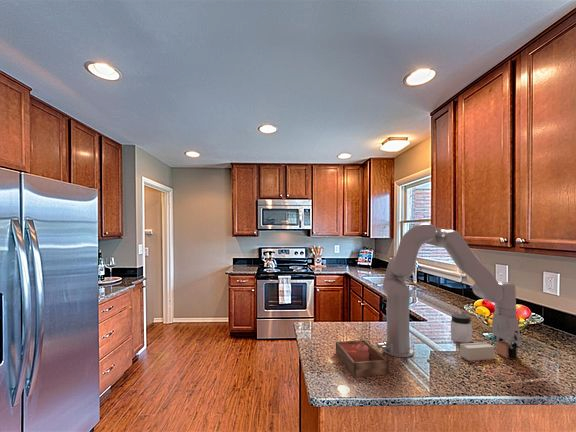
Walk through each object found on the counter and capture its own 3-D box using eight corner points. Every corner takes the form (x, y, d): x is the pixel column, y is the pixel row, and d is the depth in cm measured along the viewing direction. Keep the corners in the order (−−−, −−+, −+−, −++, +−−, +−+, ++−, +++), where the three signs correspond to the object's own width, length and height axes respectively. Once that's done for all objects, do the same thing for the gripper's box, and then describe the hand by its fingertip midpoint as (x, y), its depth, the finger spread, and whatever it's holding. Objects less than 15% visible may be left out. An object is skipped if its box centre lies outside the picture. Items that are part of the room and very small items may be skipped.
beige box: (468, 360, 128) (468, 348, 128) (460, 355, 133) (459, 343, 133) (494, 358, 130) (494, 346, 130) (485, 354, 135) (485, 342, 135)
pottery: (339, 354, 138) (339, 331, 138) (360, 352, 139) (359, 330, 139) (353, 372, 120) (353, 346, 120) (377, 370, 121) (376, 345, 122)
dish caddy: (353, 376, 116) (353, 363, 116) (335, 353, 138) (335, 341, 138) (388, 374, 118) (388, 360, 118) (365, 351, 140) (364, 339, 140)
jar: (465, 345, 146) (464, 319, 147) (448, 340, 153) (447, 315, 154) (475, 341, 151) (474, 316, 152) (458, 337, 158) (457, 312, 159)
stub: (506, 357, 131) (506, 345, 131) (496, 353, 136) (496, 341, 136) (517, 357, 131) (516, 344, 132) (507, 352, 136) (506, 340, 137)
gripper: (482, 307, 142) (483, 347, 141) (514, 317, 125) (516, 363, 125) (497, 306, 143) (498, 346, 142) (531, 316, 126) (532, 362, 126)
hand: (506, 354), depth 134 cm, fingers closed on stub, 5 cm apart
